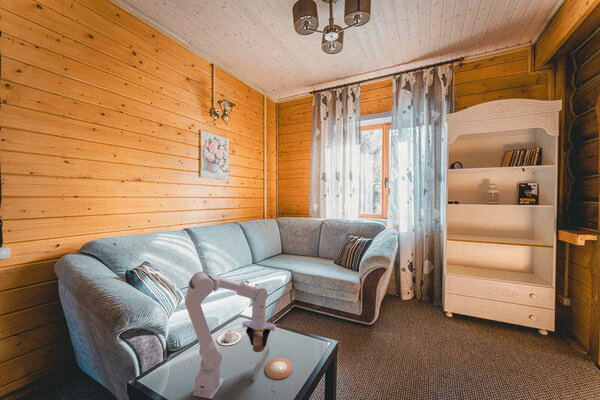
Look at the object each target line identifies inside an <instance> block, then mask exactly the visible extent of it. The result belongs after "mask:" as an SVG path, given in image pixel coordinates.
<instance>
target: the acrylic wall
mask: <svg viewBox="0 0 600 400" xmlns="http://www.w3.org/2000/svg"><path fill="white" fill-rule="evenodd" d="M269 354H270V346H267V345H266V346H265V348H264V350H263V351H262V354H261V355H260V358H259V360H258V361H257V363H256V365H255V366H254V369H253V371H252V372H251V382H255V381H256V379H257V377H258V375H259V373H260V372H261V369H262V368H263V366H264V365H265V362H266V360H267V358H268V356H269Z"/></svg>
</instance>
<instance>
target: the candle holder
mask: <svg viewBox="0 0 600 400" xmlns="http://www.w3.org/2000/svg"><path fill="white" fill-rule="evenodd" d="M234 335H235V336H237V339H236V340H235V341H233V340H234ZM223 337H224V341H226V342H229V343H224V342H222V341H221V340H222V338H223ZM241 339H242V335H241V333H240V332H238V331H234V330H233V329H230V328H229V329H226V330H225V331H224V332H223V333H221V334H220V335H219V336H218V337H217V338H216V343H218V344H219V345H220V346H221V345H222V346H232V345H235V344H237V343H239V342H240V341H241ZM232 341H233V342H232Z"/></svg>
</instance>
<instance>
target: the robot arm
mask: <svg viewBox="0 0 600 400" xmlns="http://www.w3.org/2000/svg"><path fill="white" fill-rule="evenodd" d="M187 287H188V288H187V291H186V296H185V299H184V305H185V307H186V311H187V313H188V316H189V318H190V321H191V323H192V328H193V330H194V333H195V335H196V338H197V341H198V345H199V350H198V352H199V355H200V357H201V361H200V367H199V371H198V373H197V375H196V376H195V379H194V392H193V393H192V395H193V396H195V397H200V398H205V399H211V400H212V399H214V396H215V395H216V394H217V392H218V391H219V389H220V388H221V386H222V385H223V384H224V382H225V380H226V379H225V378H222V377H221V363H222V361H223V354H222V353H221V352H220V350H219V348H218V347H217V345H216V343H215V341H214V339H213V337H212V332H211V330H210V328H209V324H208V321H207V319H206V316H205V313H204V311H203V308H202V302H203V301H204V300H205V299H206V298H208V296H209V295H210V294H211V293H212V292H213V291H214V292H216V291H218V290H220V288H221V289H225V290H230V291H233V292H236V294H237V296H241V297H243V298H248V299H251V300H252V301H251V302H252V304H251V306H252V307H251V309H252V311H251V316H252V318H251V320H246V321H245V320H244V321H243V322H242V324H241V325H242V326H241V327H242V328H244V329H245V328H246V330H245V333H246V335H247V337H248V339H249V341H250V345H251V346H253V334H254V333H255V329H256V330H260V329H265V330H264V331H263V333H262V334H263V347H265V348H266V347H267V342H268V338H269V336H270V333H271V332H275V331H276V324H273V323H270V322H267V320H266V317H267V316H266V311H267V309H266V306H267V305H266V304H267V303H266V301H267V299H268V297H269V293H268V290H267V289H266V288H265V287H263V286H261V285H260V284H258V283H255V284H254V283H252V282H250V281H249V280H242V281H240V282H236V281H234V280H231V279H228V278H225V277H222V276H220V275H217V274H213V273H208V272H207V273H206V272H204V271H198V272H196V273H195V274H194V275H193V276H192V277H191V278H190V280H189V281H188V286H187Z"/></svg>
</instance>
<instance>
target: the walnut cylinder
mask: <svg viewBox="0 0 600 400" xmlns="http://www.w3.org/2000/svg"><path fill="white" fill-rule="evenodd" d="M262 333H263V332H256V333H254V334H253V345H252V351H253V352H255V353H261V352H264V350H265V349H266V346H265V347H263V334H262Z"/></svg>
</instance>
